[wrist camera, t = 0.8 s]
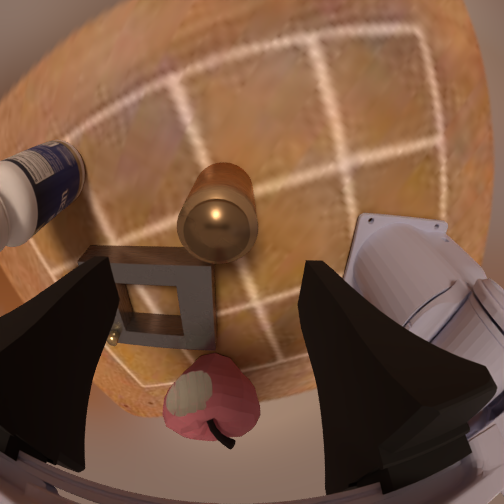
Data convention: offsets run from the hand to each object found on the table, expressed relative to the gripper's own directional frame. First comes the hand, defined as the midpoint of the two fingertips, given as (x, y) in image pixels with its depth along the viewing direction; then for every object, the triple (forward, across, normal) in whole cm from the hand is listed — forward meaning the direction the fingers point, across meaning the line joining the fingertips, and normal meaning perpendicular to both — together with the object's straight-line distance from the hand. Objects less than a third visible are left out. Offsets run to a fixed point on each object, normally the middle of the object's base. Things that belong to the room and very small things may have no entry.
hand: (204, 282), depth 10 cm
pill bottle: (+11, +13, -2) cm, 17 cm away
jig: (+10, +6, +9) cm, 15 cm away
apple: (+10, +1, +19) cm, 22 cm away
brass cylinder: (+10, 0, 0) cm, 10 cm away
